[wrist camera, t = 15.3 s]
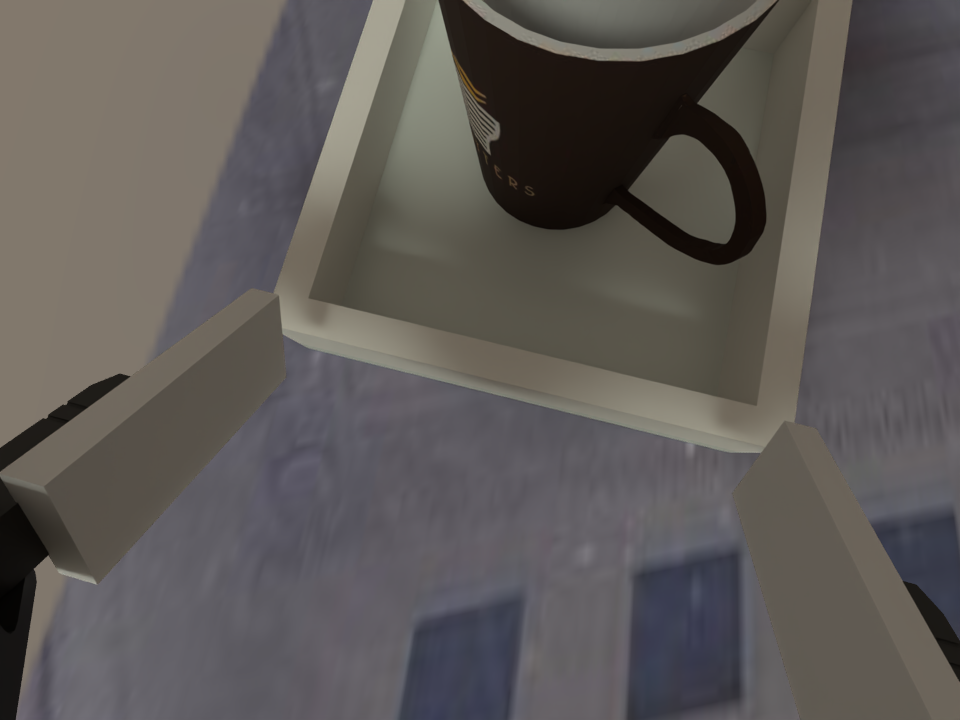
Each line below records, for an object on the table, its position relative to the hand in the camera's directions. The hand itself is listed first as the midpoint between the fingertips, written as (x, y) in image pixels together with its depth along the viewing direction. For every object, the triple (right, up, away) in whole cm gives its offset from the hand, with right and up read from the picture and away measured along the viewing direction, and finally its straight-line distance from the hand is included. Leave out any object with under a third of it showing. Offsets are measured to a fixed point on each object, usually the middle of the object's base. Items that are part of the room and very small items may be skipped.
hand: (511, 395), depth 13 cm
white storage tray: (+3, +8, +8) cm, 12 cm away
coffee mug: (+2, +8, +7) cm, 11 cm away
